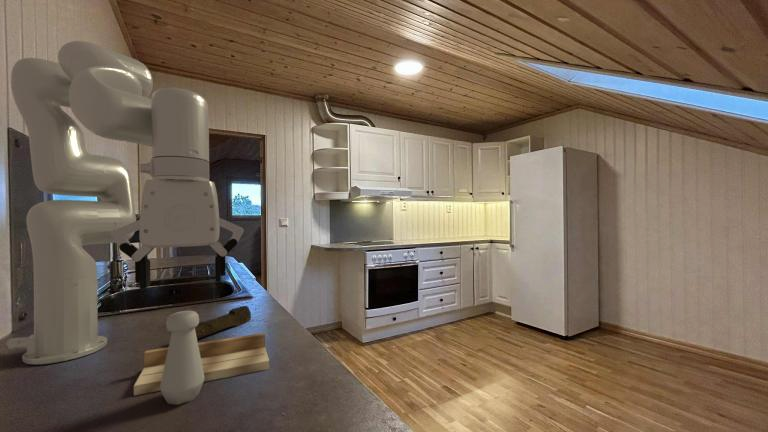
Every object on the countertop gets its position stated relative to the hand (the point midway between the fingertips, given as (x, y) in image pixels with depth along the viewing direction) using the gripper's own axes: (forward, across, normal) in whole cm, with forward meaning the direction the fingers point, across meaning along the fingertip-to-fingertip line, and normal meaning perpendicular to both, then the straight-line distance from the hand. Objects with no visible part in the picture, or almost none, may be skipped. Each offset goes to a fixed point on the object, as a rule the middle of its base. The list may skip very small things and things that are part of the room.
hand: (183, 284), depth 50 cm
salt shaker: (+18, 0, 0) cm, 18 cm away
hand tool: (+18, +4, +32) cm, 36 cm away
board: (+17, +3, +9) cm, 20 cm away
